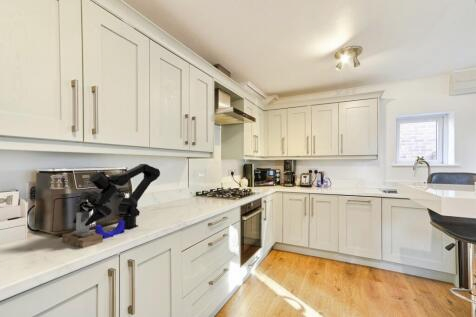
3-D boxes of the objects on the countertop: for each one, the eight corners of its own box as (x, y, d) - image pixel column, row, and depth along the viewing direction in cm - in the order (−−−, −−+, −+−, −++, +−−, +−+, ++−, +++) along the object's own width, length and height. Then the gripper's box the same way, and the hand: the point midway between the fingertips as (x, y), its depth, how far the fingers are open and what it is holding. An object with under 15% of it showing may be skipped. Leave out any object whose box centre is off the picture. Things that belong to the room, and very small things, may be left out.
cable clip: (99, 240, 99) (99, 227, 99) (95, 238, 102) (95, 225, 102) (125, 233, 109) (126, 221, 109) (121, 231, 112) (121, 220, 112)
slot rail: (62, 241, 97) (62, 234, 97) (82, 236, 104) (82, 229, 104) (82, 248, 90) (83, 240, 90) (102, 242, 97) (102, 235, 97)
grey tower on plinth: (73, 241, 97) (73, 212, 97) (82, 239, 100) (83, 210, 100) (82, 244, 93) (82, 213, 94) (91, 241, 97) (92, 212, 97)
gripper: (81, 183, 105) (53, 211, 95) (105, 185, 97) (77, 216, 86) (98, 197, 112) (73, 225, 102) (121, 200, 103) (97, 230, 93)
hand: (79, 224), depth 96 cm, fingers open, 9 cm apart
